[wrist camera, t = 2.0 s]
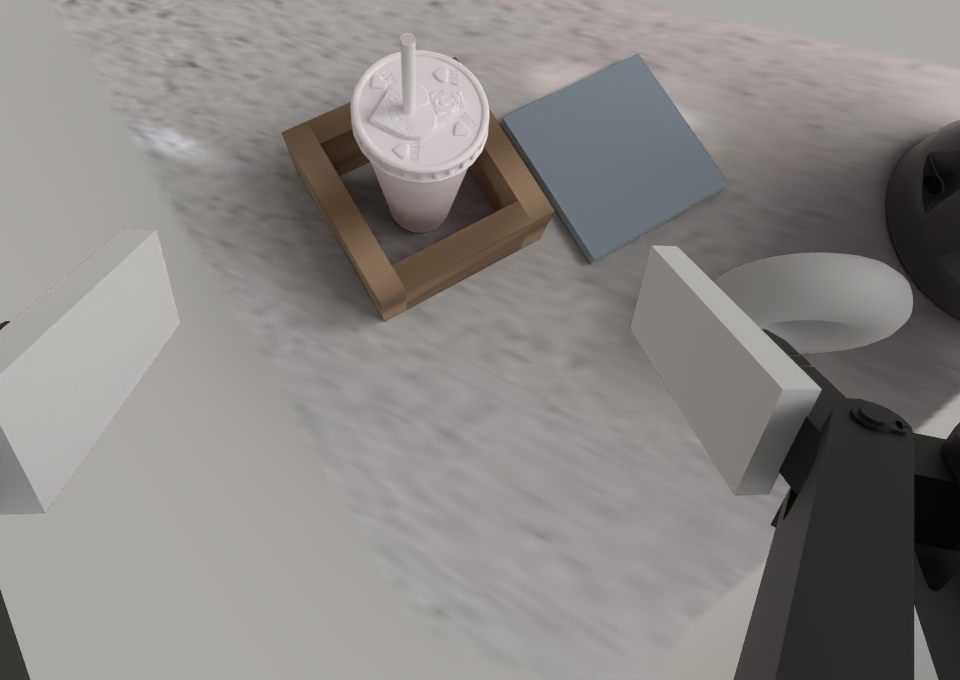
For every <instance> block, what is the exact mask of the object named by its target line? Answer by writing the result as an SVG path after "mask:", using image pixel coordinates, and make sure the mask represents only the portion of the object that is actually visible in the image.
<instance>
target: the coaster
mask: <svg viewBox="0 0 960 680" xmlns="http://www.w3.org/2000/svg"><path fill="white" fill-rule="evenodd" d="M501 126H502V128H503V129H504V131H505V132H506V134H507V135H508V137H509V139H510V140H511V142H512V143H513V145H514V146H515V148H516V149H517V151H518V152H519V154H520V156H521V157H522V159H523V160H524V162H525V163H526V165H527V166H528V168H529V170H530V171H531V173H532V174H533V176H534V177H535V179H536V180H537V182H538V183H539V185H540V187H541V188H542V190H543V191H544V193H545V194H546V196H547V197H548V199H549V201H550V202H551V204H552V205H553V207H554V208H555V210H556V211H557V213H558V214H559V216H560V218H561V219H562V221H563V222H564V224H565V225H566V227H567V228H568V230H569V232H570V233H571V235H572V236H573V238H574V239H575V241H576V242H577V244H578V245H579V247H580V249H581V250H582V252H583V253H584V255H585V256H586V258H587V259H588V261H589V263H590V264H592V263H594V262H596V261H597V260H599V259H601V258H603V257H604V256H606V255H608V254H610V253H612V252H613V251H615V250H617V249H619V248H621V247H622V246H624V245H626V244H628V243H630V242H631V241H633V240H635V239H637V238H638V237H640V236H642V235H644V234H646V233H647V232H649V231H651V230H653V229H655V228H656V227H658V226H660V225H662V224H664V223H665V222H667V221H669V220H671V219H672V218H674V217H676V216H678V215H680V214H681V213H683V212H685V211H687V210H689V209H690V208H692V207H694V206H696V205H698V204H699V203H701V202H703V201H705V200H706V199H708V198H710V197H712V196H714V195H715V194H717V193H719V192H721V191H723V190H724V189H725V188H726V187H727V186H728V185H730V184H729V182H728V181H727V180H726V178H725V177H724V175H723V174H722V172H721V171H720V170H719V168H718V167H717V165H716V164H715V162H714V161H713V160H712V158H711V157H710V155H709V154H708V152H707V151H706V150H705V148H704V147H703V145H702V144H701V142H700V141H699V140H698V138H697V137H696V135H695V134H694V132H693V131H692V130H691V128H690V127H689V125H688V124H687V122H686V121H685V120H684V118H683V117H682V115H681V114H680V112H679V111H678V110H677V108H676V107H675V105H674V104H673V102H672V101H671V100H670V98H669V97H668V95H667V94H666V92H665V91H664V90H663V88H662V87H661V85H660V84H659V82H658V81H657V80H656V78H655V77H654V75H653V74H652V72H651V71H650V70H649V68H648V67H647V65H646V64H645V62H644V61H643V60H642V58H641V57H640V55H639V54H636V55H634V56H632V57H630V58H627V59H625V60H623V61H621V62H619V63H617V64H615V65H613V66H610V67H608V68H606V69H604V70H602V71H600V72H598V73H596V74H594V75H591V76H589V77H587V78H585V79H583V80H581V81H579V82H577V83H574V84H572V85H570V86H568V87H566V88H564V89H562V90H560V91H557V92H555V93H553V94H551V95H549V96H547V97H545V98H543V99H540V100H538V101H536V102H534V103H532V104H530V105H528V106H526V107H523V108H521V109H519V110H517V111H515V112H513V113H511V114H509V115H507V116H504V117H502V121H501Z"/></svg>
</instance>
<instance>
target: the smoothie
mask: <svg viewBox="0 0 960 680" xmlns="http://www.w3.org/2000/svg"><path fill="white" fill-rule="evenodd" d="M350 108H351V122H352V128H353V134H354V137H355V139H356V141H357V143H358V145H359V147H360V149H361V151H362V153H363V154H364V155H365V156H366V157H367V158H368V159H369V160H370V162H371V163H372V166H373V168H374V171H375V173H376V176H377V179H378V181H379V184H380V186H381V189H382V191H383V194H384V196H385V199H386V202H387V204H388V207H389V209H390V212H391V214H392V217H393V218H394V220H395V221H396V222H397V223H398V225H400V226H401V227H402V228H404V229H406V230H408V231H411V232H415V233H426V232H430V231H432V230H435V229H436V228H438V227H439V226H440V225H441V224H442V223H443V222H444V221H445V219H446V217H447V215H448V213H449V211H450V208H451V206H452V204H453V201H454V199H455V197H456V194H457V192H458V190H459V187H460V185H461V183H462V180H463V178H464V176H465V174H466V171H467V169H468V167H469V166H471V165H472V164H473V163H474V161H475V160H476V159H477V158H478V156H479V155H480V154H481V152H482V151H483V148H484V145H485V143H486V140H487V137H488V125H489V105H488V100H487V97H486V94H485V92H484V89H483V88H482V86H481V84H480V83H479V81H478V80H477V78H476V77H475V76H474V75H473V74H472V73H471V72H470V71H469V70H468V69H467V68H466V67H465V66H463V65H462V64H461V63H459V62H458V61H456V60H454V59H452V58H450V57H448V56H446V55H443V54H440V53H437V52H433V51H427V50H415V37H414V35H413V34H411V33H404V34H402V36H401V51H400V52H396V53H392V54H390V55H387V56H385V57H383V58H381V59H379V60H378V61H376V62H375V63H373V64H372V65H371V66H370V67H368V68H367V69H366V70H365V72H364V73H363V74H362V75H361V77H360V78H359V80H358V81H357V83H356V85H355V87H354V90H353V93H352V98H351V106H350Z"/></svg>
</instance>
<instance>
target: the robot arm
mask: <svg viewBox="0 0 960 680" xmlns="http://www.w3.org/2000/svg"><path fill="white" fill-rule="evenodd" d="M887 219H888V225H889V230H890V234H891V237H892V241H893V243H894V246H895V249H896V251H897V253H898V255H899V257H900V259H901V261H902V263H903V265H904V266H905V268H906V270H907V271H908V273H909V274H910V276H911V277H912V279H913V280H914V281H915V282H916V284H917V285H918V286H919V287H920V288H921V289H922V291H923V292H924V293H925V294H926V295H927V296H928V297H929V298H930V299H931V300H933V301H934V302H935V303H936V304H937V305H938V306H940V307H941V308H942V309H944V310H945V311H946V312H948V313H949V314H951V315H953V316H954V317H956V318H957V319H959V320H960V120H958V121H955V122H953V123H951V124H949V125H947V126H945V127H943V128H942V129H940V130H938V131H937V132H935V133H934V134H932V135H930V136H929V137H927V138H926V139H924V140H922V141H921V142H919V143H918V144H916V145H915V146H914V147H912V148H911V149H910V150H909V151H908V152H907V153H906V154H905V155H904V156H903V157H902V159H901V160H900V161H899V163H898V165H897V166H896V168H895V170H894V172H893V175H892V177H891V180H890V184H889V188H888V194H887ZM179 324H180V320H179V316H178V312H177V309H176V304H175V301H174V297H173V293H172V289H171V285H170V281H169V277H168V273H167V269H166V265H165V261H164V258H163V253H162V250H161V245H160V241H159V237H158V234H157V230H150V229H123V230H122V231H121V232H119V233H118V234H117V235H116V236H115V237H114V238H112V239H111V240H110V241H108V242H107V243H106V244H105V245H104V246H102V247H101V248H100V249H99V250H97V251H96V252H95V253H94V254H93V255H91V256H90V257H89V258H88V259H86V261H84V262H83V263H82V264H81V265H79V266H78V267H77V268H76V269H74V270H73V271H72V272H71V273H69V274H68V275H67V276H66V277H65V278H63V279H62V280H61V281H60V282H58V283H57V284H56V285H55V286H54V287H52V288H51V289H50V290H49V291H47V292H46V293H45V294H44V295H43V296H41V297H40V298H39V299H38V300H36V301H35V302H34V303H33V304H32V305H30V306H29V307H28V308H27V309H26V310H24V311H23V312H22V313H21V314H19V315H18V316H17V317H16V318H15V319H13V320H12V321H5V322H3V323H1V324H0V514H34V513H35V514H36V513H46V512H47V511H48V510H49V508H50V507H51V505H52V504H53V502H54V501H55V500H56V498H57V497H58V495H59V494H60V493H61V491H62V490H63V488H64V487H65V485H66V484H67V483H68V481H69V480H70V478H71V477H72V475H73V474H74V473H75V471H76V470H77V469H78V467H79V466H80V464H81V463H82V461H83V460H84V459H85V457H86V456H87V454H88V453H89V452H90V450H91V449H92V447H93V446H94V444H95V443H96V442H97V440H98V439H99V437H100V436H101V435H102V433H103V432H104V430H105V429H106V428H107V426H108V425H109V423H110V422H111V420H112V419H113V418H114V416H115V415H116V413H117V412H118V411H119V409H120V408H121V406H122V405H123V404H124V402H125V401H126V399H127V398H128V396H129V395H130V394H131V392H132V390H133V389H134V388H135V387H136V385H137V384H138V382H139V381H140V379H141V378H142V377H143V375H144V374H145V372H146V371H147V370H148V368H149V367H150V365H151V364H152V363H153V361H154V360H155V358H156V357H157V355H158V354H159V353H160V351H161V350H162V348H163V347H164V346H165V344H166V343H167V341H168V340H169V338H170V337H171V336H172V334H173V333H174V331H175V330H176V328H177V327H178V326H179ZM630 330H631V331H632V333H633V334H634V336H635V337H636V339H637V341H638V342H639V344H640V345H641V347H642V349H643V350H644V352H645V353H646V355H647V357H648V358H649V360H650V361H651V363H652V365H653V366H654V368H655V369H656V371H657V373H658V374H659V376H660V377H661V379H662V381H663V382H664V384H665V385H666V387H667V389H668V390H669V392H670V393H671V395H672V397H673V398H674V400H675V401H676V403H677V405H678V406H679V408H680V409H681V411H682V412H683V414H684V416H685V417H686V419H687V420H688V422H689V424H690V425H691V427H692V428H693V430H694V432H695V433H696V435H697V436H698V438H699V440H700V441H701V443H702V444H703V446H704V448H705V449H706V451H707V452H708V454H709V456H710V457H711V459H712V460H713V462H714V464H715V465H716V467H717V468H718V470H719V472H720V473H721V475H722V476H723V478H724V479H725V481H726V483H727V484H728V486H729V487H730V489H731V491H732V492H733V494H734V495H762V494H769V493H770V491H771V489H772V487H773V485H774V483H775V481H776V479H777V477H778V475H779V473H781V475H782V476H783V477H784V479H785V480H786V481H787V483H788V484H789V485H790V489H789V491H788V493H787V495H786V497H785V499H784V500H783V502H782V504H781V506H780V508H779V510H778V512H777V514H776V515H775V517H774V519H773V521H772V523H771V525H772V526H774V527H776V530H775V533H774V537H773V540H772V544H771V548H770V551H769V555H768V558H767V562H766V566H765V569H764V573H763V576H762V580H761V584H760V587H759V591H758V594H757V598H756V602H755V605H754V609H753V612H752V616H751V619H750V623H749V627H748V630H747V634H746V637H745V641H744V644H743V648H742V652H741V655H740V659H739V662H738V667H737V670H736V673H735V677H734V680H914V605H915V608H916V611H917V614H918V617H919V621H920V624H921V627H922V630H923V633H924V636H925V639H926V642H927V645H928V648H929V652H930V655H931V657H932V661H933V664H934V667H935V670H936V673H937V676H938V679H939V680H960V423H959V424H958V425H957V426H956V427H955V428H954V430H953V431H952V432H951V434H950V435H949V437H948V438H947V439H941V438H936V437H931V436H926V435H921V434H916V433H913V431H912V428H911V427H910V426H909V424H908V423H907V422H906V421H905V420H904V419H903V418H901V417H900V416H898V415H897V414H895V413H894V412H892V411H891V410H889V409H887V408H884V407H882V406H880V405H878V404H875V403H872V402H868V401H865V400H861V399H850V398H846V397H845V396H844V395H842V394H841V393H840V392H839V391H838V390H837V389H836V388H835V387H834V386H833V385H832V384H831V383H830V382H829V381H828V380H827V379H826V378H825V377H824V376H823V375H822V374H820V373H819V372H818V371H817V370H816V369H815V368H814V367H811V364H810V363H809V362H808V361H807V360H806V359H805V358H804V357H803V356H800V354H799V353H798V352H797V351H796V350H795V349H794V348H793V347H792V346H791V345H790V344H789V343H788V342H787V341H786V340H784V339H782V338H781V337H779V336H777V335H775V334H774V333H772V332H770V331H769V330H767V329H760V328H759V327H758V326H757V325H756V324H755V323H754V322H753V321H752V320H751V319H750V318H749V317H748V316H747V315H746V314H745V313H744V312H743V311H742V310H741V309H740V308H739V307H738V306H737V305H736V304H735V303H734V302H733V301H732V300H731V299H730V298H729V297H728V296H727V295H726V294H725V293H724V292H723V291H722V290H721V289H720V288H719V287H718V286H717V285H716V284H715V283H714V282H713V281H712V280H711V279H710V278H709V277H708V276H707V275H706V274H705V273H704V272H703V271H702V270H701V269H700V268H699V267H698V266H697V265H696V264H695V263H694V262H693V261H692V260H691V259H690V258H689V257H688V256H687V255H686V254H685V253H684V252H683V251H682V250H681V249H680V248H679V247H678V246H656V245H651V249H650V253H649V257H648V261H647V265H646V269H645V272H644V276H643V280H642V284H641V288H640V292H639V296H638V300H637V304H636V308H635V312H634V316H633V319H632V323H631V327H630ZM0 680H30V677H29V675H28V672H27V668H26V665H25V662H24V659H23V656H22V653H21V651H20V647H19V645H18V641H17V639H16V635H15V633H14V629H13V627H12V624H11V621H10V617H9V615H8V611H7V608H6V606H5V602H4V599H3V596H2V593H1V590H0Z"/></svg>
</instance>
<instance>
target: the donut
mask: <svg viewBox="0 0 960 680" xmlns="http://www.w3.org/2000/svg"><path fill="white" fill-rule="evenodd" d="M714 283H715V284H716V285H717V286H718V287H719V288H720V289H721V290H722V291H723V292H724V293H725V294H726V295H727V296H728V297H729V298H730V299H731V300H732V301H733V302H734V303H735V304H736V305H737V306H738V307H739V308H740V309H741V310H742V311H743V312H744V313H745V314H746V315H747V316H748V317H749V318H750V319H751V320H752V321H753V322H754V323H755V324H756V325H757V326H758V327H759V328H760V329H767V330H769V331H770V332H772V333H774V334H775V335H777V336H779V337H781V338H782V339H784V340H786V341H787V342H788V343H789V344H790V345H791V346H792V347H793V348H794V349H795V350H796V351H797V352H798V353H799V354H804V353H824V352H833V351H842V350H848V349H853V348H857V347H862V346H866V345H869V344H871V343H874V342H877V341H879V340H882V339H884V338H887V337H889V336H891V335H892V334H893V333H894V332H895V331H897V330H898V329H899V328H900V327H901V326H902V325H904V324H905V323H906V322H907V321H908V319H909V317H910V315H911V314H912V309H913V295H912V290H911V287H910V284H909V282H908V281H907V280H906V279H905V277H904V276H903V275H902V274H900V273H899V272H897V271H896V270H894V269H893V268H891V267H890V266H888V265H886V264H885V263H883V262H881V261H878V260H874V259H870V258H866V257H863V256H859V255H851V254H839V253H828V252H817V253H794V254H787V255H780V256H773V257H768V258H764V259H761V260H757V261H753V262H750V263H746V264H743V265H740V266H738V267H736V268H734V269H732V270H729V271H727V272H725V273H723V274H722V275H721V276H720V277H718V278H717V279H716V280H715V281H714Z"/></svg>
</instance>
